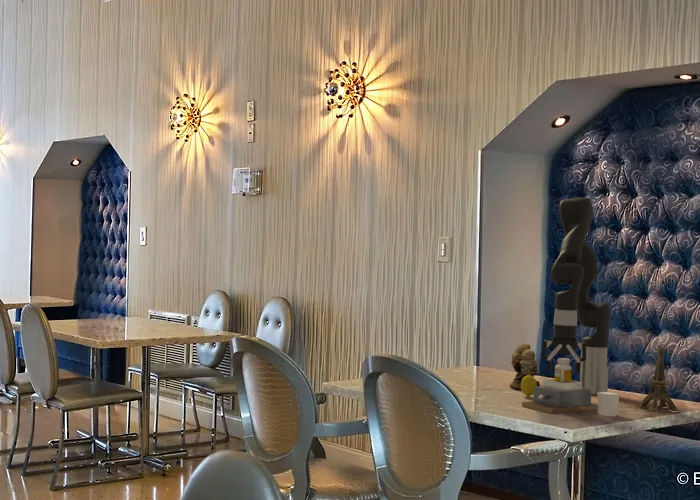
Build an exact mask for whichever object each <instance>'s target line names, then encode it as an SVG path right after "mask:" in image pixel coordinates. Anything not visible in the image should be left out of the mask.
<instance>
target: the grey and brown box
mask: <svg viewBox="0 0 700 500" xmlns="http://www.w3.org/2000/svg"><path fill="white" fill-rule="evenodd" d="M521 407H524V408H527V409H531V410H536V411H539V412H543V413H547V414H551V415H552V414H563V413H579V412H590V411H591V412H592V411H598V403H592V394H591V390H588V389H587V388H585V387H583V388H582V382H580V381H578V380H572V379H571V382H567V383H561V382H556V381H555V378H550V379H549V378H544V379H543V385H541V386H537V387H534V394H533V400H532V401H531V400H530V401H521Z"/></svg>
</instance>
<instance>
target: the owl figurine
mask: <svg viewBox="0 0 700 500" xmlns="http://www.w3.org/2000/svg"><path fill="white" fill-rule="evenodd" d="M511 365H512V368H513V370H514V372H516V374H515V377H514V378H513V381H512V382H510V384H509V388H510V389H511V388H512V389H511V390H515V391H520V392H522V391H521V381H522V379H523V378H524V377H525V376H527V375H531V376H533V377H534V376H537V373H538V362H537V360H536V352H535V351H534V350H532V349H531V345H530V344H529V343H525V342H524V343H521V344H519V345H518V346H517V347H516V349H515V351H514V352H513V353H512V355H511ZM536 383H537V386H542V385H541V384H540V381H538V380H536Z"/></svg>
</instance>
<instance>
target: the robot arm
mask: <svg viewBox="0 0 700 500" xmlns="http://www.w3.org/2000/svg"><path fill="white" fill-rule="evenodd" d="M559 217H560V220H561V225H562V228H563V231H564V236H565V237H564V238H563V240H562V242H561V246H560V252H559V255H558V257H557V259H556V260H555V262H554V263H553V265H552V267H551V271H550V277H551V280H552V282H553V283H555V284H557V285H558V284H559V285H571V287H570V288H569V289H568V290H563V291H558V292H557V293H556V294H555V303H554V315H553V328H552V329H553V331H552V332H553V335H552V340H547V339H544V340H543V341H542V348H541V349H542V350H541V358H542V359H544V360H546V369H547V371H548V373H552V363H553V362H552V359H553V358H554V357H555V355H556V354H558V355H567V356H569V355H571V356H572V357H573V358H574V360H575V375H578V373H580V375H579V382H582V388H583V387H585V388H587V389H588V390H591V396H592V395H594V396H597V392H609V391H608V388H609V387H608V386H609V367H608V366H607V364H608V345H609V340H610V339H609V338H610V328H611V327H610V326H611V317H612V316H611V313H612V312H611V308H610V305H609V304H608V303H604V302H594V301H593V302H592V301H590V300H589V299H590V298H589V292H590V290H591V287H592V285H593V284H594V282H595V280H596V278H597V276H598V272H599V268H598V262H597V256H596V253H595V251H594V250H593V249H592V248H591V247H590V245H589V244H588V243H587V242H586V241H585V240H586V237H587V235H588V233H589V230H590V227H591V224H592V221H593V217H594V206H593V202H592V201H591V198H588V197H574V198H565V199H562V200H560V202H559ZM578 321H579V323H580V325H581V326H582V327H585V328H592V329H594V328H595V329H596V330H595V333H593V334H591V335H588V336H585V337H582V339H581V342H578V341H577V336H578V335H577V333H578V330H577V329H578ZM550 345H551V346H552V348H553V350H552V351H551V352H550V354H549V355H547V348H549V346H550ZM578 347H579V350H581V352H580V353H581V354H580V357H579V355H578V353H577V352H576V351H575V350H576V349H577V348H578Z"/></svg>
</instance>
